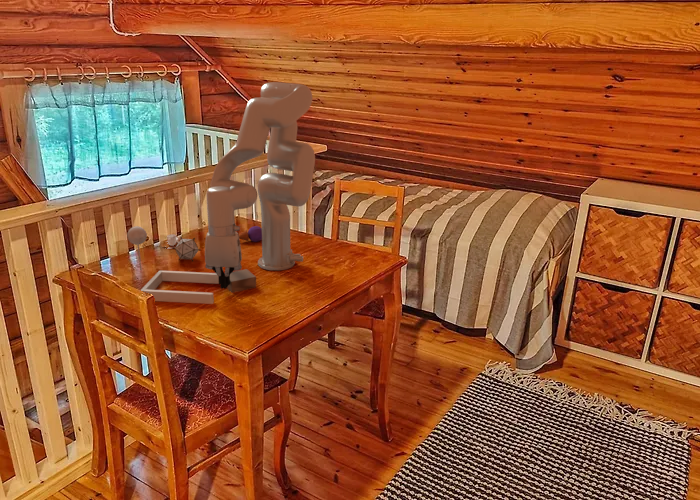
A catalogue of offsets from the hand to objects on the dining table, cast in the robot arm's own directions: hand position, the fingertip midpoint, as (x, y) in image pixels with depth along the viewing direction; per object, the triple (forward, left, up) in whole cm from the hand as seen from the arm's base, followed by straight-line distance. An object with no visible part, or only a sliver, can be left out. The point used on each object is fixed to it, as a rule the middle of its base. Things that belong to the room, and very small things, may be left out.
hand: (224, 286), depth 171 cm
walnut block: (-3, -6, -3) cm, 7 cm away
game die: (+20, -25, -2) cm, 32 cm away
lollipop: (+32, -14, -2) cm, 35 cm away
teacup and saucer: (+27, -40, -3) cm, 49 cm away
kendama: (+7, -44, -3) cm, 45 cm away
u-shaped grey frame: (+12, 0, -2) cm, 12 cm away
